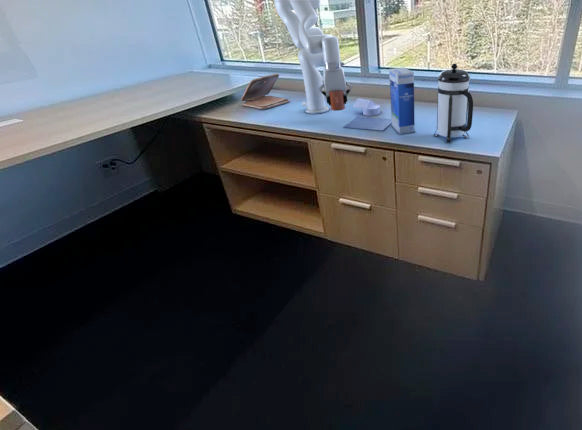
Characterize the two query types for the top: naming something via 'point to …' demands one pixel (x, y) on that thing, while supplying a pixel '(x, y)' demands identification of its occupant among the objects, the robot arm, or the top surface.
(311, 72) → the robot arm
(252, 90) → the case
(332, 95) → the mug
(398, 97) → the string lights box
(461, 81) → the coffee press
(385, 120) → the blue rectangular mat
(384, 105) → the top surface
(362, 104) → the wedge on round base
